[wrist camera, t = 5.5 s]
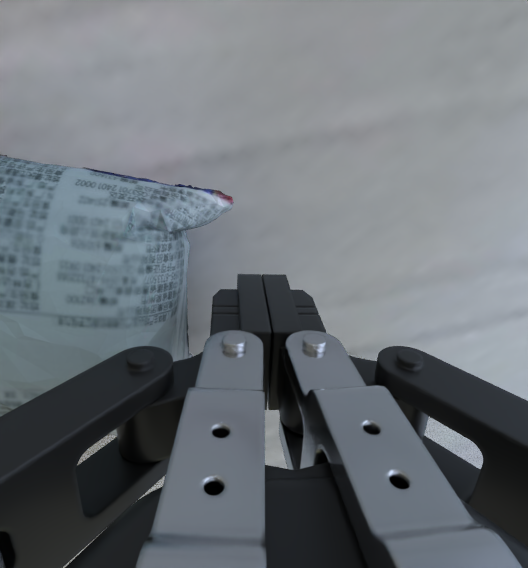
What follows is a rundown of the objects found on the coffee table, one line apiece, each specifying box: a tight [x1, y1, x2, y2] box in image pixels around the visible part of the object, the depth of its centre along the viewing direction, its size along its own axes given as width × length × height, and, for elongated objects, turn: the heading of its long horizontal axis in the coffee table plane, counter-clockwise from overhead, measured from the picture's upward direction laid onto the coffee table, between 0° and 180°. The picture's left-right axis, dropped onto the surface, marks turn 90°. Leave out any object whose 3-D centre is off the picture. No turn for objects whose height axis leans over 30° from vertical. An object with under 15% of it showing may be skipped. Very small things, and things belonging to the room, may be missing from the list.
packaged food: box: [0, 155, 234, 436], centre depth 12 cm, size 9×12×5 cm
